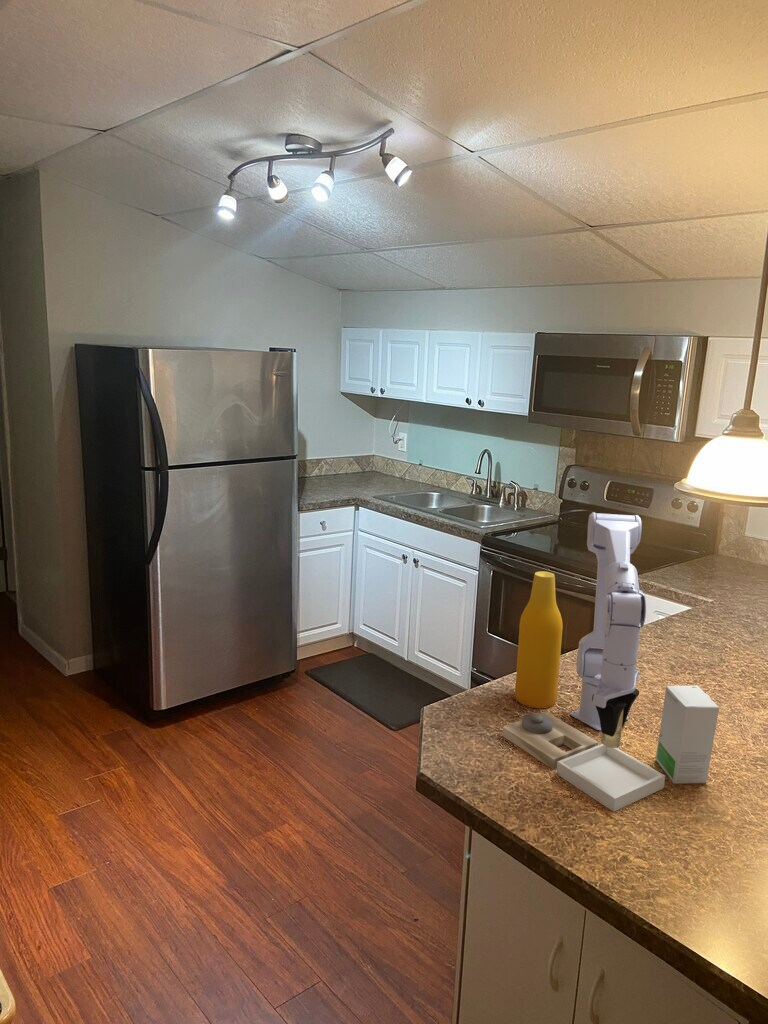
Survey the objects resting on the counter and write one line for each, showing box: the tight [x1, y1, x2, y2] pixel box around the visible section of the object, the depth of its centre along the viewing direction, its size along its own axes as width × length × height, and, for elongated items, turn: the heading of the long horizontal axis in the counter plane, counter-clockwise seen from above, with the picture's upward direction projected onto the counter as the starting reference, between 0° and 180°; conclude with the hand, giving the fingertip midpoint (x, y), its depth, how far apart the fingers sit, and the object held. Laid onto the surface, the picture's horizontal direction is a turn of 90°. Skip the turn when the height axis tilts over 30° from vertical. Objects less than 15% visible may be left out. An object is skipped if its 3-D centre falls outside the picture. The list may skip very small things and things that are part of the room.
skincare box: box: [655, 685, 720, 785], centre depth 136 cm, size 8×7×16 cm
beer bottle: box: [514, 570, 563, 709], centre depth 161 cm, size 9×9×29 cm
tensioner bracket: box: [501, 711, 599, 770], centre depth 146 cm, size 12×14×4 cm
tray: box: [556, 743, 666, 813], centre depth 134 cm, size 13×13×2 cm
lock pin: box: [601, 709, 624, 749], centre depth 132 cm, size 3×3×7 cm
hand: (612, 730), depth 132 cm, fingers closed on lock pin, 3 cm apart
